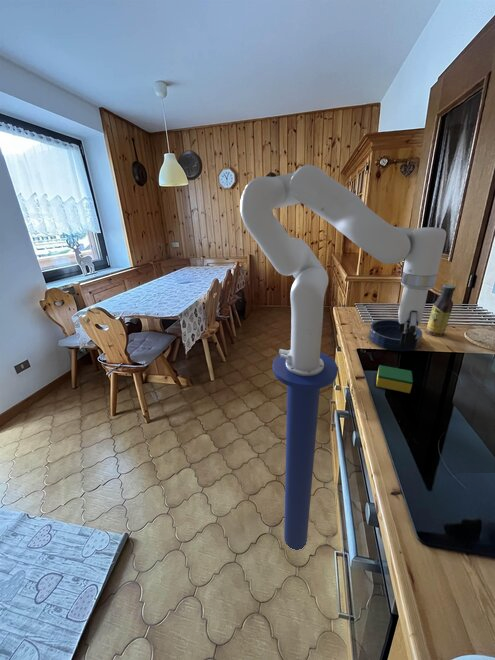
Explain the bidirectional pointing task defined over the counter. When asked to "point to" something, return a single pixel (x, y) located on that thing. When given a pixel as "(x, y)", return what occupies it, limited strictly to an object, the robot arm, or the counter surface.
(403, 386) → the sponge
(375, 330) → the bowl
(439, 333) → the sauce bottle
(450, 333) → the counter surface
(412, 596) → the counter surface
